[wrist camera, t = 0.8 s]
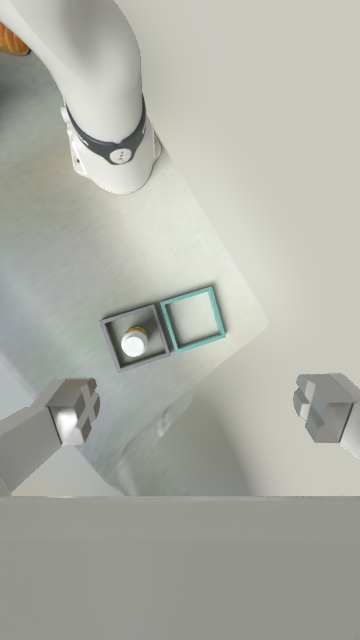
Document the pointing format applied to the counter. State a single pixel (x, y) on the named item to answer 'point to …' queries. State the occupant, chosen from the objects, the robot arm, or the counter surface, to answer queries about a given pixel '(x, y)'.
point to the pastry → (11, 42)
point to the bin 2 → (216, 314)
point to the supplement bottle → (134, 341)
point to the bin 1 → (112, 348)
